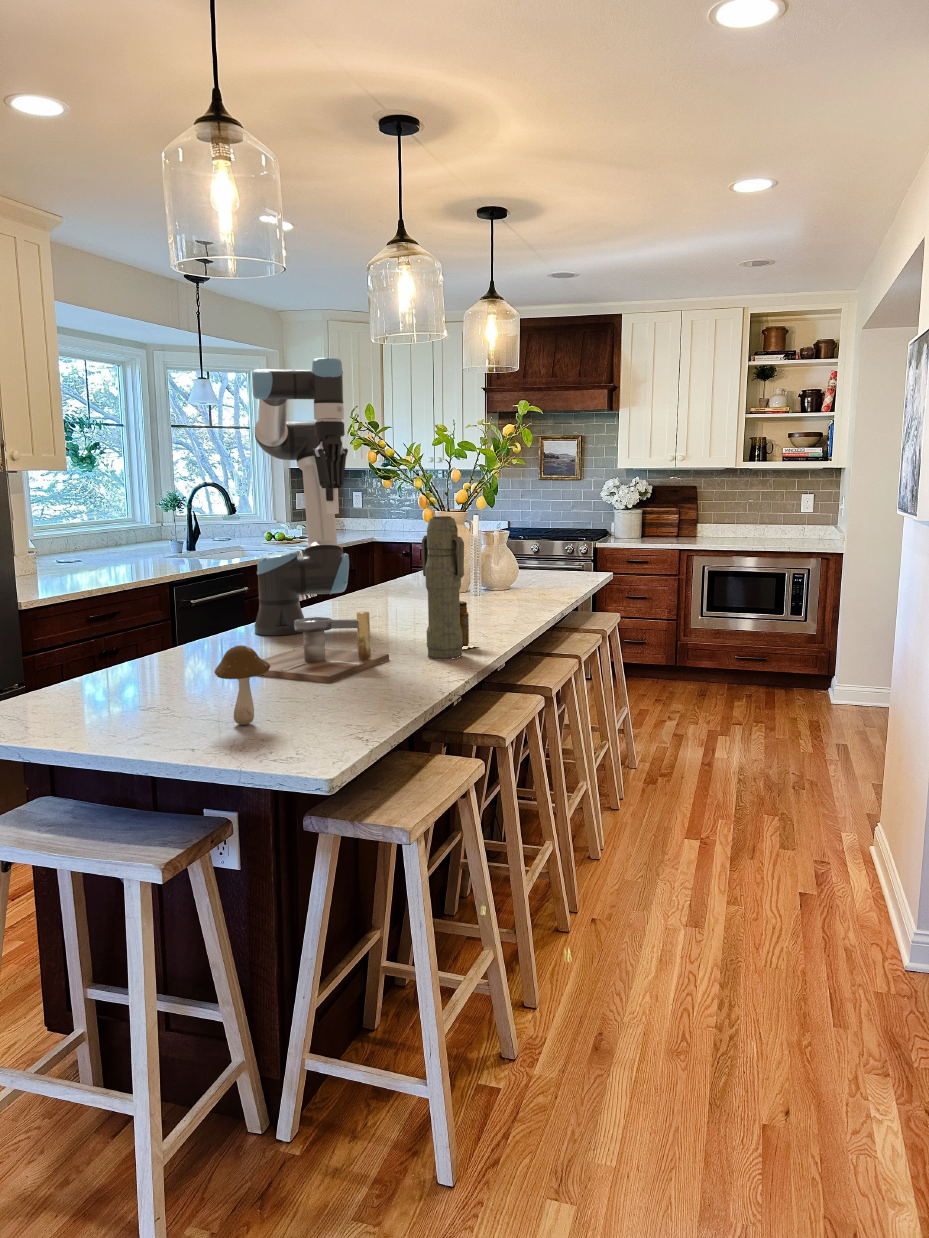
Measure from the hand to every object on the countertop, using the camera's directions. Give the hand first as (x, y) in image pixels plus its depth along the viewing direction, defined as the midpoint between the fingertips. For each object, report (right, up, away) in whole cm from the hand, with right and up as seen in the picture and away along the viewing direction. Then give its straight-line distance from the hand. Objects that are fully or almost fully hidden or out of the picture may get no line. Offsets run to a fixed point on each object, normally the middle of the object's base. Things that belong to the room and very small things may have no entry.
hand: (332, 513), depth 231 cm
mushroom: (-7, -47, -65) cm, 80 cm away
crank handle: (+3, -37, -16) cm, 40 cm away
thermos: (+29, -37, -8) cm, 48 cm away
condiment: (+33, -35, +4) cm, 48 cm away
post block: (-2, -39, -17) cm, 42 cm away
